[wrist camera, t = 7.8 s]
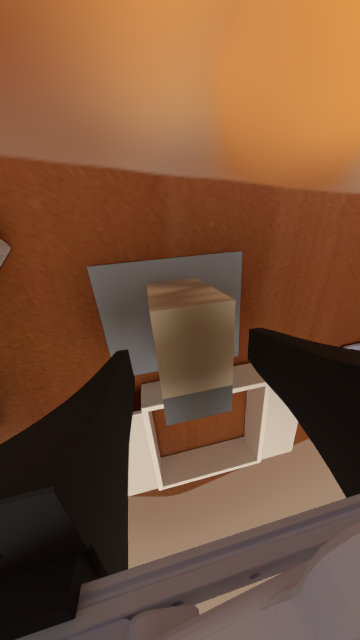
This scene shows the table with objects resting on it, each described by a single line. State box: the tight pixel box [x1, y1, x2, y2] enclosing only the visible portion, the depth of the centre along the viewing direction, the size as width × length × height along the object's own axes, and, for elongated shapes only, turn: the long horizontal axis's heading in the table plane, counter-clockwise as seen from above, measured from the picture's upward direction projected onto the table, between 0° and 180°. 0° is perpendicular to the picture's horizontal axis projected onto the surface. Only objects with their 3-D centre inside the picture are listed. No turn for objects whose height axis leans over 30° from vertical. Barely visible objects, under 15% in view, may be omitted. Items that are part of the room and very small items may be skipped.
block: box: [147, 278, 236, 426], centre depth 13 cm, size 4×7×7 cm, turn 4°
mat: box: [87, 251, 242, 375], centre depth 16 cm, size 12×10×1 cm
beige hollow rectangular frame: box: [128, 363, 298, 496], centre depth 20 cm, size 20×12×3 cm, turn 94°
